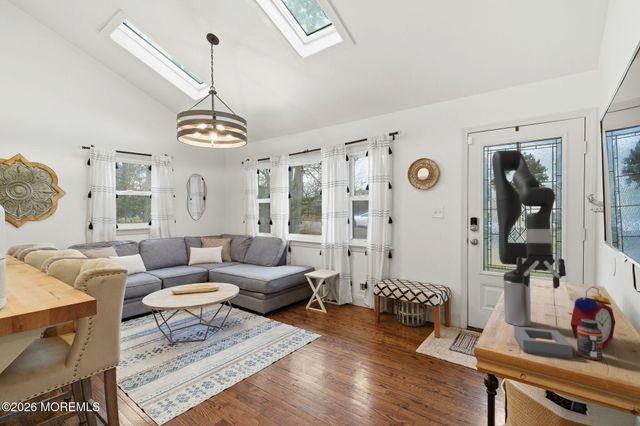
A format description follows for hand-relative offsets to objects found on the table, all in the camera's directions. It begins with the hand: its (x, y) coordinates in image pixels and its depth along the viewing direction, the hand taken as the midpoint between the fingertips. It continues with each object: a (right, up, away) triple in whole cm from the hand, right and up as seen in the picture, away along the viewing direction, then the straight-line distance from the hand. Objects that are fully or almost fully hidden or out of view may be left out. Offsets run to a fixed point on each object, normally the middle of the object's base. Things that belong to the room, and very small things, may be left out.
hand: (540, 287), depth 107 cm
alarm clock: (+15, -19, -3) cm, 24 cm away
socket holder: (-4, -19, -6) cm, 20 cm away
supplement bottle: (+6, -19, -13) cm, 24 cm away
